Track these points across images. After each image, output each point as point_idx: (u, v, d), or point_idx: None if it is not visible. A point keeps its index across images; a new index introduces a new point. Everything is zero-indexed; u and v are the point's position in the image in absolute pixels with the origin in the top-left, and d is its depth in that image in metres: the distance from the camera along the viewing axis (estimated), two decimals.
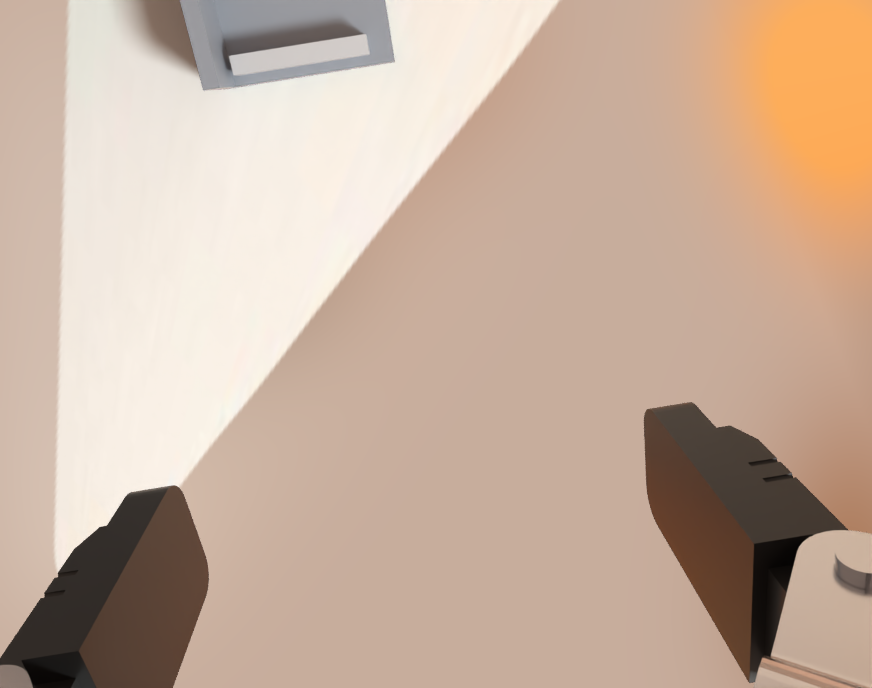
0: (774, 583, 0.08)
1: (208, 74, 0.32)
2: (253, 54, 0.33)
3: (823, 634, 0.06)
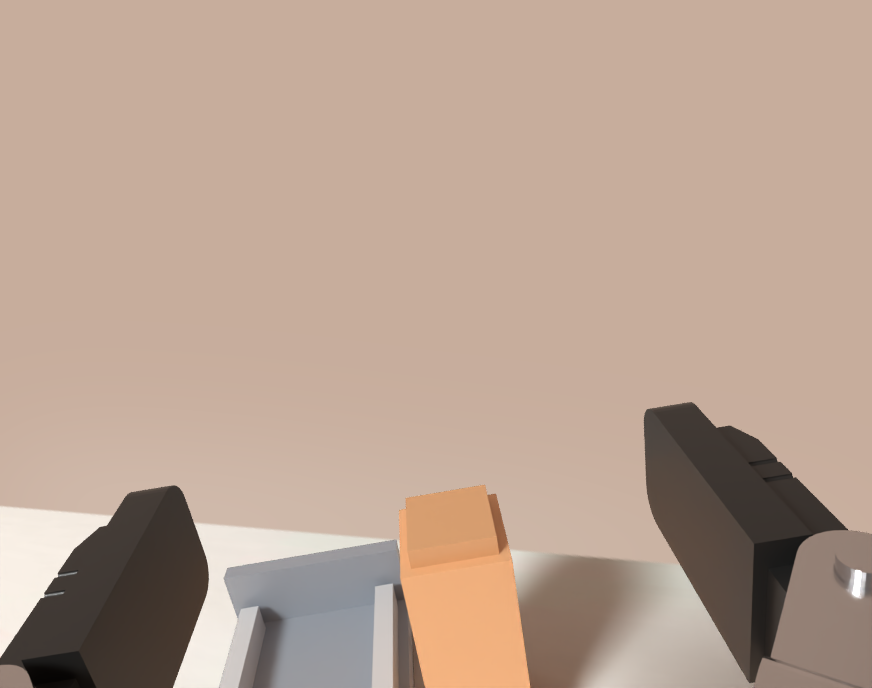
0: (774, 583, 0.08)
1: (237, 571, 0.34)
2: (251, 624, 0.33)
3: (822, 634, 0.06)
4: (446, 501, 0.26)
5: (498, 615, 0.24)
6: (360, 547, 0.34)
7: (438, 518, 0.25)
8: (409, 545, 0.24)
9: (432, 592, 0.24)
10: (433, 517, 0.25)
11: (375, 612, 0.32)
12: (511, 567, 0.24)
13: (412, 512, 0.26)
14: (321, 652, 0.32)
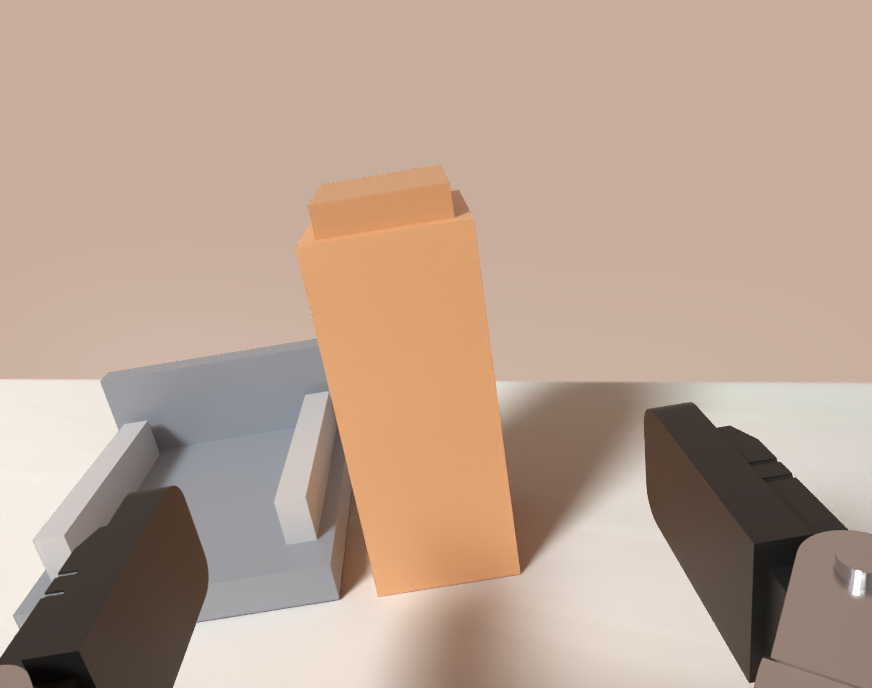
0: (774, 583, 0.08)
1: (121, 374, 0.25)
2: (133, 436, 0.24)
3: (822, 634, 0.06)
4: (380, 178, 0.17)
5: (453, 324, 0.16)
6: (286, 344, 0.25)
7: (364, 186, 0.16)
8: (312, 202, 0.15)
9: (347, 275, 0.15)
10: (357, 186, 0.16)
11: (300, 417, 0.23)
12: (472, 233, 0.15)
13: (327, 188, 0.17)
14: (226, 473, 0.24)
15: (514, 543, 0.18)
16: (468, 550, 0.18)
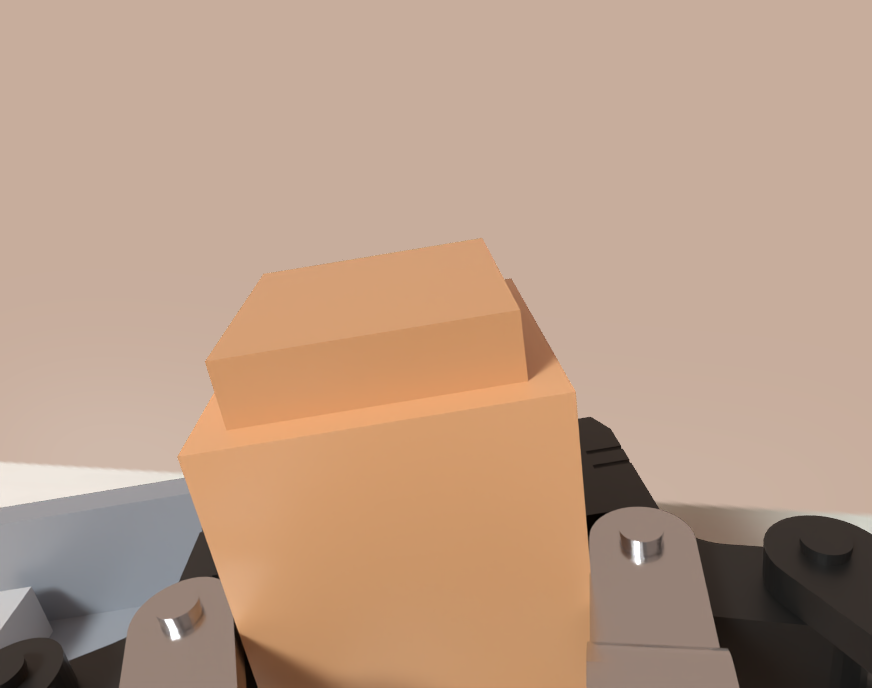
0: None
1: None
2: (1, 623, 0.16)
3: (625, 607, 0.07)
4: (370, 268, 0.09)
5: (522, 593, 0.08)
6: None
7: (337, 295, 0.08)
8: (220, 349, 0.07)
9: (296, 509, 0.07)
10: (323, 294, 0.08)
11: None
12: (572, 421, 0.07)
13: (266, 292, 0.09)
14: None
15: None
16: None
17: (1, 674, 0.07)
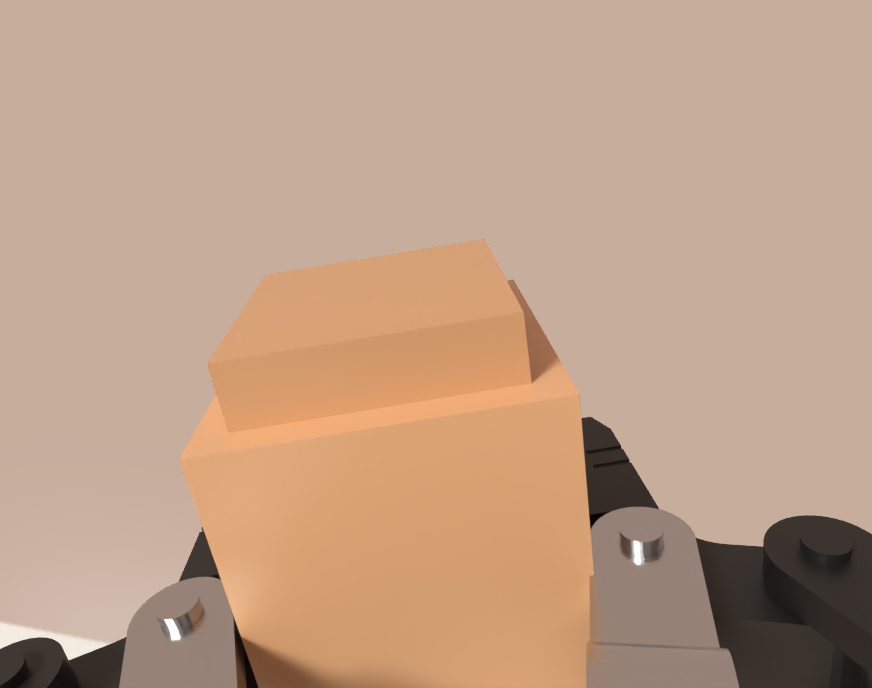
0: None
1: None
2: None
3: (626, 606, 0.07)
4: (372, 269, 0.09)
5: (525, 595, 0.07)
6: None
7: (340, 296, 0.08)
8: (222, 351, 0.07)
9: (298, 511, 0.07)
10: (325, 296, 0.08)
11: None
12: (575, 424, 0.07)
13: (268, 293, 0.09)
14: None
15: None
16: None
17: (1, 674, 0.07)
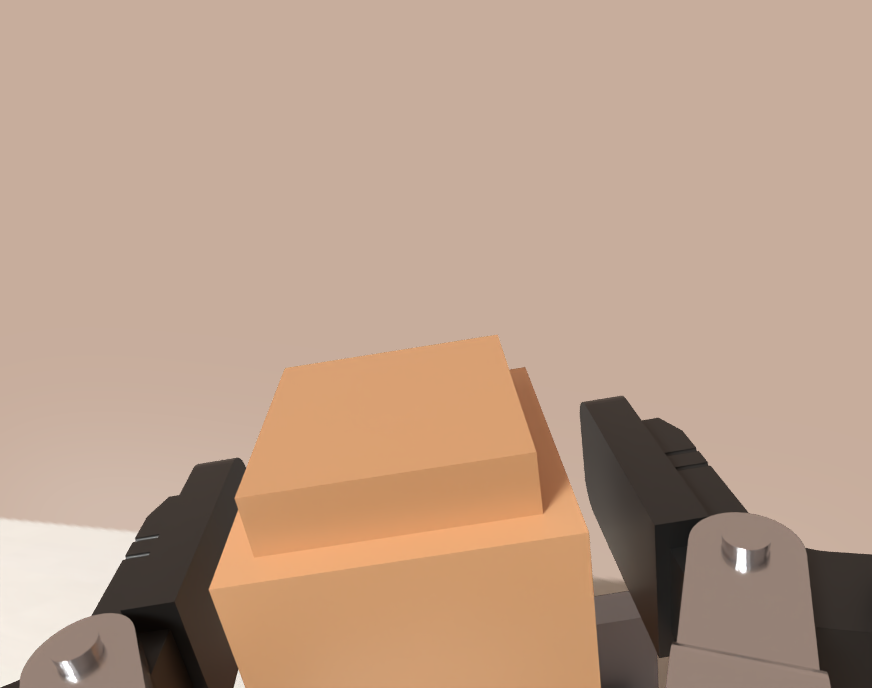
0: (674, 562, 0.08)
1: None
2: None
3: (719, 613, 0.07)
4: (390, 371, 0.09)
5: None
6: None
7: (358, 409, 0.08)
8: (248, 480, 0.07)
9: (321, 633, 0.07)
10: (344, 406, 0.09)
11: None
12: (585, 557, 0.07)
13: (289, 397, 0.09)
14: None
15: None
16: None
17: None
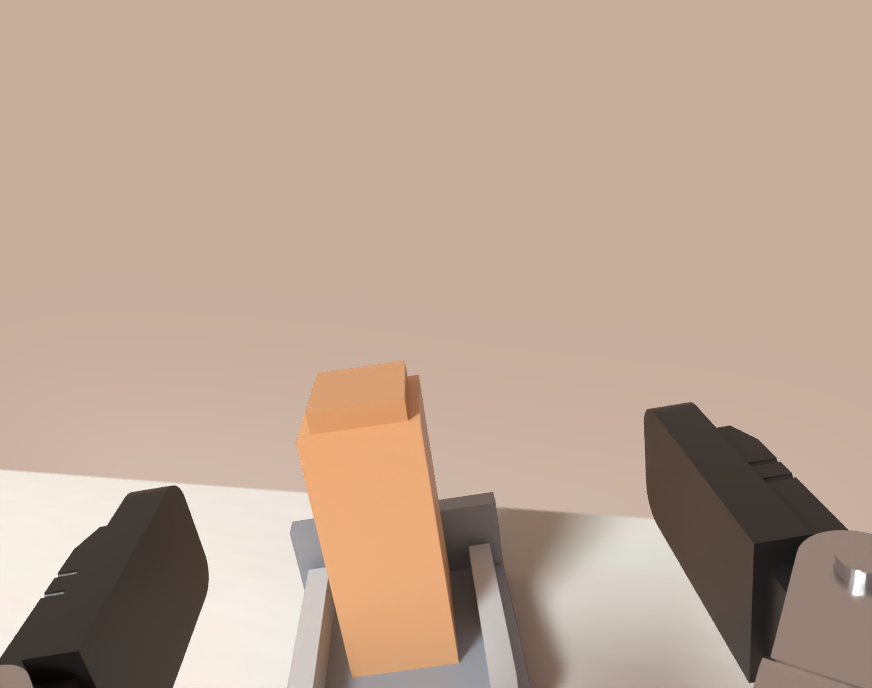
0: (774, 583, 0.08)
1: (306, 525, 0.29)
2: (324, 586, 0.27)
3: (822, 634, 0.06)
4: (359, 374, 0.24)
5: (407, 492, 0.22)
6: (451, 500, 0.29)
7: (347, 387, 0.23)
8: (308, 408, 0.22)
9: (332, 460, 0.22)
10: (341, 386, 0.23)
11: (474, 574, 0.27)
12: (420, 434, 0.21)
13: (320, 383, 0.23)
14: None
15: (453, 641, 0.24)
16: (419, 646, 0.24)
17: None
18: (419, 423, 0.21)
